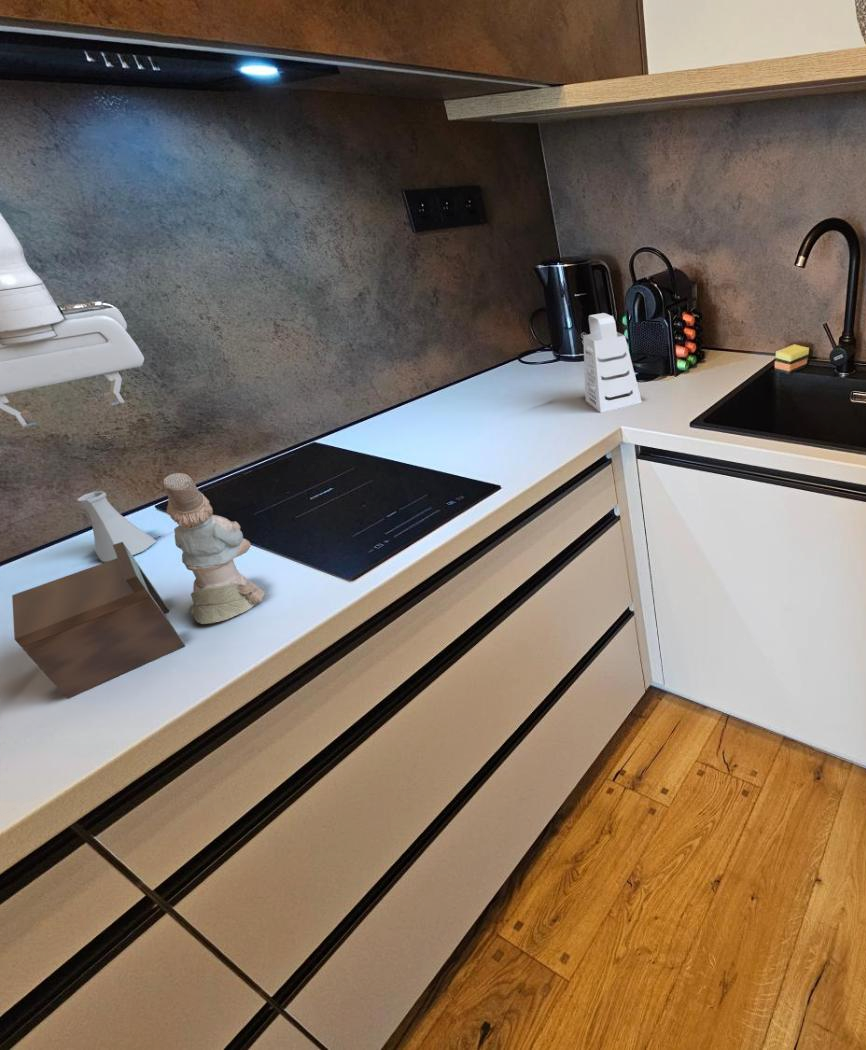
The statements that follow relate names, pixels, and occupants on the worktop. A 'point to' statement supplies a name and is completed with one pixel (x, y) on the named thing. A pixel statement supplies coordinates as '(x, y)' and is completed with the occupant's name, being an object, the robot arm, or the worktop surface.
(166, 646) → the wooden block with backboard
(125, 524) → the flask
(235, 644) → the worktop surface
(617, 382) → the grater
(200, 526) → the figurine
